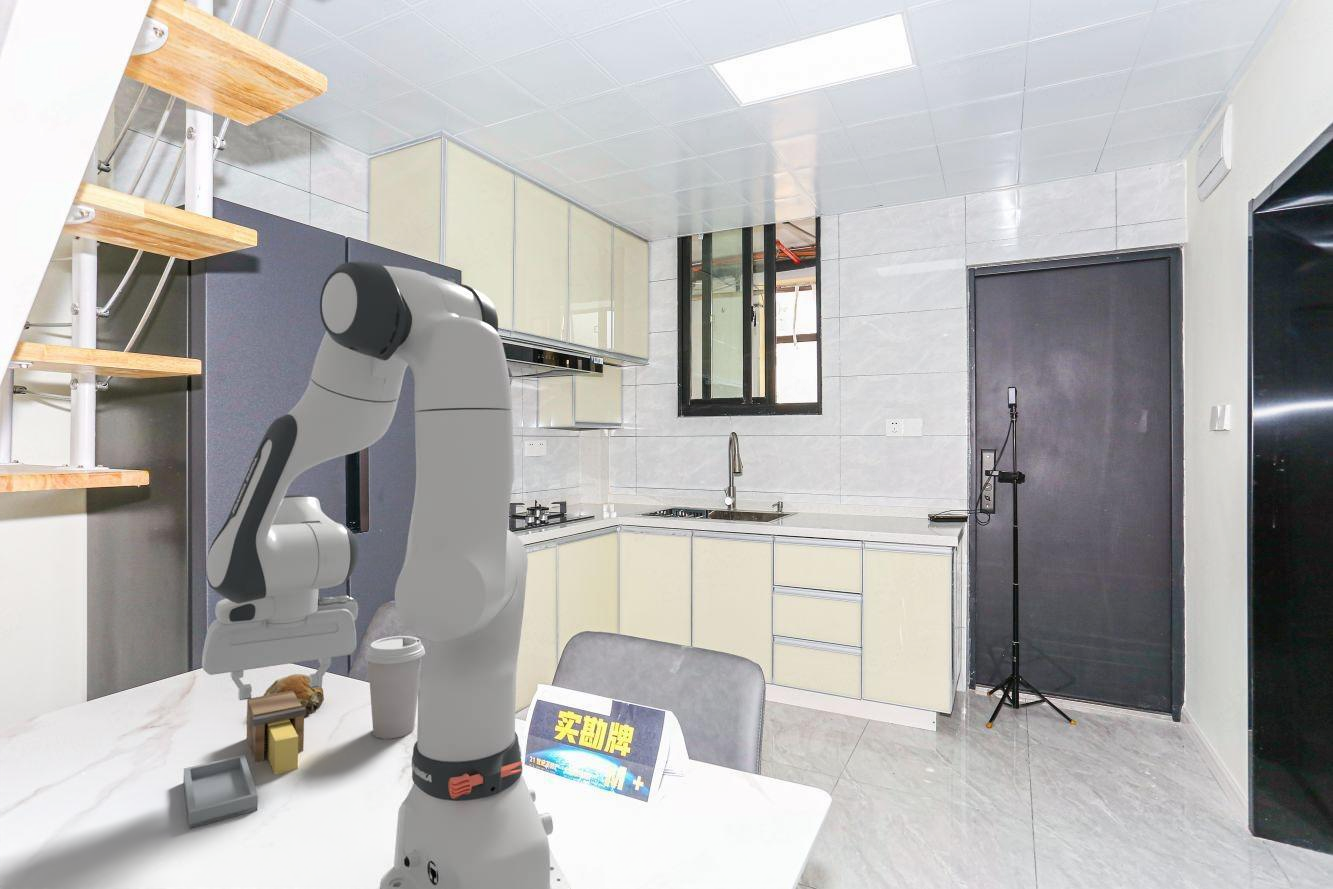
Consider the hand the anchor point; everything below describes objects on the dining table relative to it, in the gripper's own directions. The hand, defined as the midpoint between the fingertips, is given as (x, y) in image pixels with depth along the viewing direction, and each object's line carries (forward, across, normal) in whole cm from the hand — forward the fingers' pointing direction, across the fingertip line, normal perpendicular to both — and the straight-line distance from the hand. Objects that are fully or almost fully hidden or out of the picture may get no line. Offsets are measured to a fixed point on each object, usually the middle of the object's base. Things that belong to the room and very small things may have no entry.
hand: (281, 692), depth 102 cm
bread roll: (+12, -6, -22) cm, 26 cm away
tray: (+11, +8, +6) cm, 15 cm away
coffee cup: (+11, -18, -2) cm, 21 cm away
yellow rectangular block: (+11, -1, -2) cm, 11 cm away
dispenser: (+11, -1, -7) cm, 13 cm away
